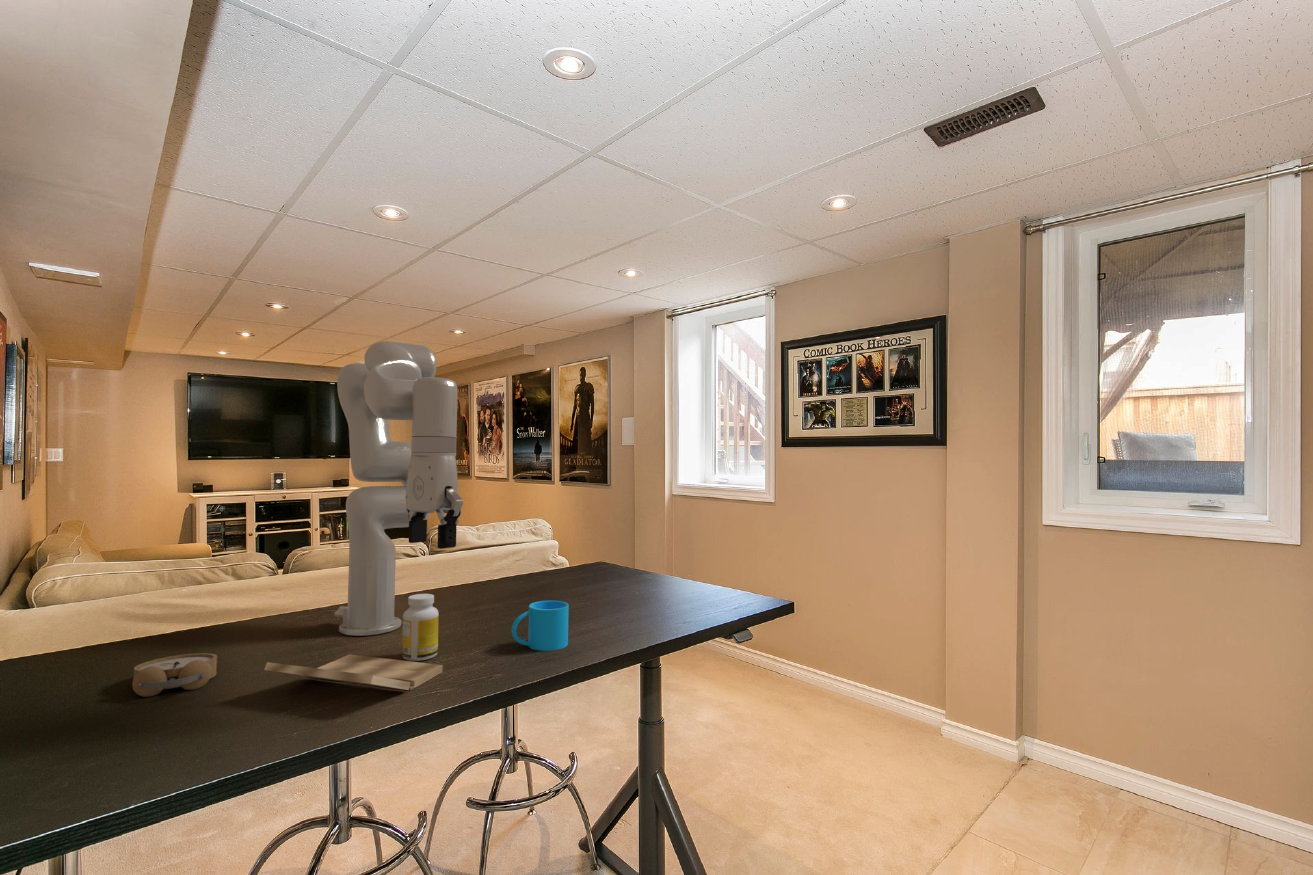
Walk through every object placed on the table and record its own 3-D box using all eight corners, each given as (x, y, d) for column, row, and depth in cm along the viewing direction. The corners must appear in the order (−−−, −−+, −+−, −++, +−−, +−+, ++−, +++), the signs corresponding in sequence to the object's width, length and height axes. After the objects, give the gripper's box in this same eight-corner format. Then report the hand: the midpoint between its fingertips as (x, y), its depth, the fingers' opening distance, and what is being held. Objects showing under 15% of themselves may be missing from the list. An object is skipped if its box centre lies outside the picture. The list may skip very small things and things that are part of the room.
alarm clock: (218, 649, 112) (215, 658, 100) (217, 677, 111) (213, 689, 99) (139, 660, 106) (125, 670, 94) (137, 690, 105) (122, 704, 93)
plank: (264, 669, 97) (267, 662, 98) (308, 676, 106) (311, 669, 107) (370, 683, 92) (373, 675, 93) (408, 689, 101) (410, 682, 102)
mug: (558, 636, 133) (559, 598, 133) (574, 646, 126) (575, 607, 126) (504, 645, 126) (505, 605, 127) (518, 656, 119) (519, 614, 120)
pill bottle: (444, 653, 120) (446, 594, 121) (422, 664, 114) (423, 601, 114) (417, 649, 122) (419, 591, 123) (394, 659, 116) (395, 598, 117)
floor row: (311, 677, 107) (311, 670, 107) (349, 660, 115) (349, 654, 115) (410, 690, 102) (410, 682, 102) (442, 671, 110) (442, 665, 110)
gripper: (389, 447, 111) (387, 542, 110) (440, 447, 100) (438, 552, 99) (428, 448, 117) (426, 538, 116) (480, 447, 105) (478, 547, 105)
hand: (431, 544), depth 108 cm, fingers open, 9 cm apart
